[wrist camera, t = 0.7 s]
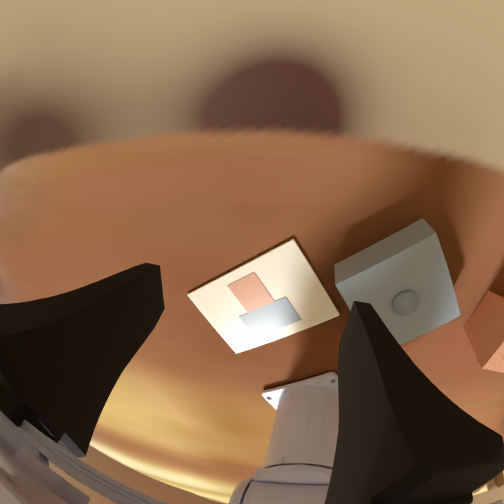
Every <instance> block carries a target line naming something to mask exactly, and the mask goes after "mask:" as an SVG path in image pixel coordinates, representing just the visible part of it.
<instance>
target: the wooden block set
mask: <svg viewBox="0 0 504 504" xmlns="http://www.w3.org/2000/svg"><path fill="white" fill-rule="evenodd" d="M486 484H487V488H488V491H490V490H493V489H496V488H499V487H500V486H502V485H504V476H503V471H502V472H501V473H500V474H498V475H497V476H496V477H494V478H493V479H492V480H490V481H489V482H487V483H486ZM486 484H484V485H483V486H481V487H480V488H478V489H477V490H475V491H474V492H472V493H476V492H478V491H479V490H480V489H481V488H482V487H484V486H485V485H486Z"/></svg>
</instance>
